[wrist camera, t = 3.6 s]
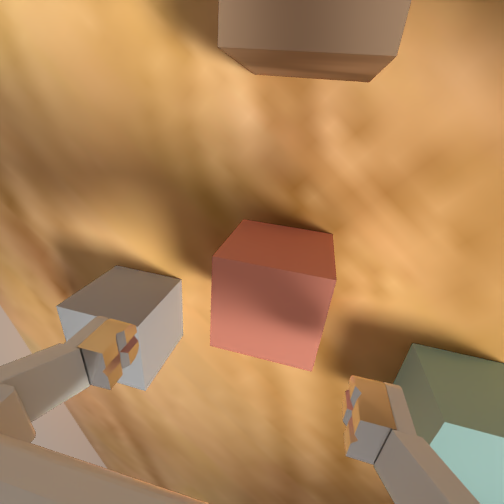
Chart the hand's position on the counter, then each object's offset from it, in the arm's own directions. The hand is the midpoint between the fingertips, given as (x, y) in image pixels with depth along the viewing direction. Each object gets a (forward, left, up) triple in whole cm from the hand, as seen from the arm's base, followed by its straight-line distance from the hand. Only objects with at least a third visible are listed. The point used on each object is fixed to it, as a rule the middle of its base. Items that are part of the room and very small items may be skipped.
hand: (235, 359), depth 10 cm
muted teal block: (-12, +6, -7) cm, 15 cm away
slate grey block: (+8, +5, -7) cm, 12 cm away
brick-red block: (-1, 0, -7) cm, 7 cm away
